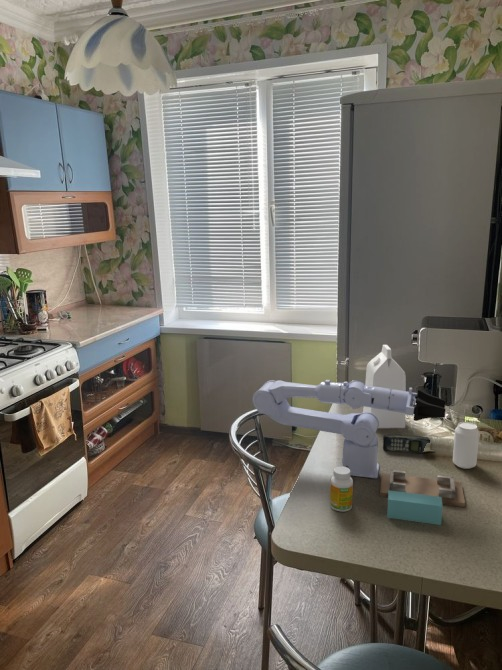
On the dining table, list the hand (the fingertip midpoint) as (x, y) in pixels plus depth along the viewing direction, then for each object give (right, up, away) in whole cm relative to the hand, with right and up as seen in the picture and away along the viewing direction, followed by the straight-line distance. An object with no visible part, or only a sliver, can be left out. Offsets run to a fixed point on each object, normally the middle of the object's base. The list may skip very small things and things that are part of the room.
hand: (445, 408), depth 131 cm
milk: (-4, -11, +44) cm, 46 cm away
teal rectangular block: (-11, -24, -9) cm, 28 cm away
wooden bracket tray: (-6, -21, +1) cm, 22 cm away
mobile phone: (-2, -16, +23) cm, 28 cm away
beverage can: (+11, -18, +14) cm, 25 cm away
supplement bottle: (-27, -23, -4) cm, 36 cm away
